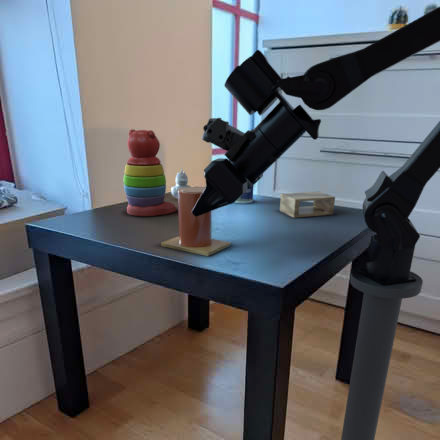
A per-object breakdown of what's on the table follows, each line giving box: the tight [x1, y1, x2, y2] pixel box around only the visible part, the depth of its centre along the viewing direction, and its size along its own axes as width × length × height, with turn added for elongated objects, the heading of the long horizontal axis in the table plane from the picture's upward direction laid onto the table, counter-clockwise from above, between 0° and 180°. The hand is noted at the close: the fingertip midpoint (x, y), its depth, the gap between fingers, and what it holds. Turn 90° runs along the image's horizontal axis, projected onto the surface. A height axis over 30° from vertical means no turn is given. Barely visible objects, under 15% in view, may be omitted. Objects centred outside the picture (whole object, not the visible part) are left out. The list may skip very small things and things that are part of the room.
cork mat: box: [160, 235, 232, 257], centre depth 73 cm, size 10×7×1 cm
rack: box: [279, 190, 336, 219], centre depth 95 cm, size 7×10×4 cm
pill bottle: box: [234, 185, 254, 205], centre depth 105 cm, size 5×5×10 cm
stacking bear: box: [123, 128, 177, 217], centre depth 93 cm, size 11×10×18 cm
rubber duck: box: [170, 168, 192, 200], centre depth 109 cm, size 5×7×8 cm
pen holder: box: [177, 186, 213, 247], centre depth 71 cm, size 6×6×9 cm
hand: (202, 208), depth 70 cm, fingers open, 9 cm apart
